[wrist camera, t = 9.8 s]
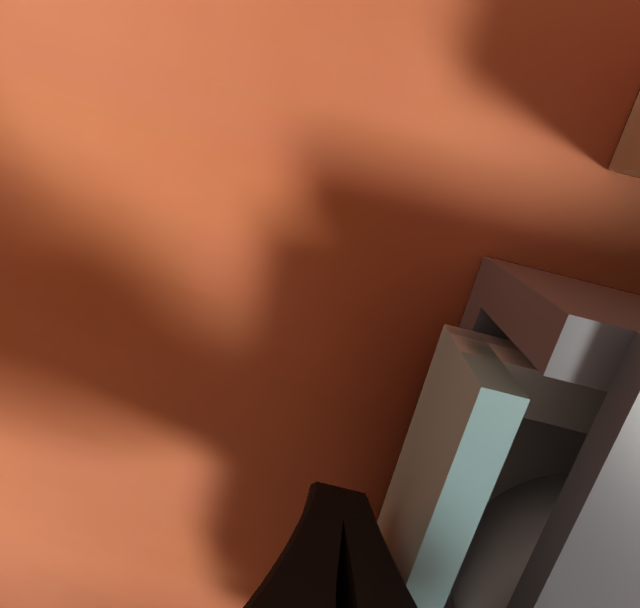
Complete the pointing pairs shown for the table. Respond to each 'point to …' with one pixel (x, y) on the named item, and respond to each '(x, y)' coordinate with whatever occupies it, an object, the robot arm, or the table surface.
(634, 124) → the birch block
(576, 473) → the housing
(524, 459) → the tray
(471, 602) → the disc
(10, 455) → the table surface
